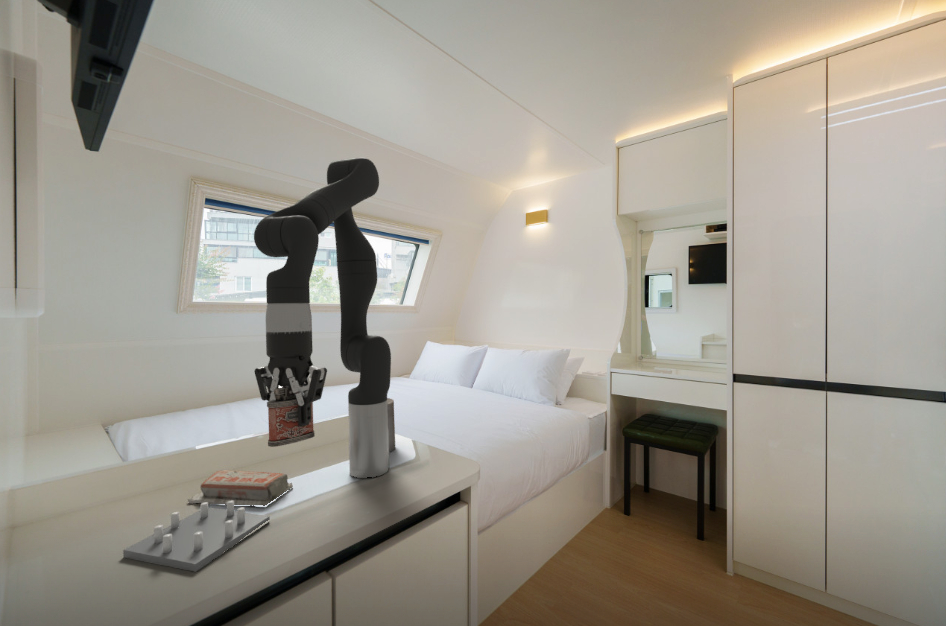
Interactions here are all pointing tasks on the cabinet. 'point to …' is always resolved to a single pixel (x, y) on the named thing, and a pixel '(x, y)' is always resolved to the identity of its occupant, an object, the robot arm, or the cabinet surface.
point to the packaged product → (242, 488)
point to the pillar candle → (391, 423)
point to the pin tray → (195, 537)
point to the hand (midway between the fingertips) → (291, 424)
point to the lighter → (286, 419)
